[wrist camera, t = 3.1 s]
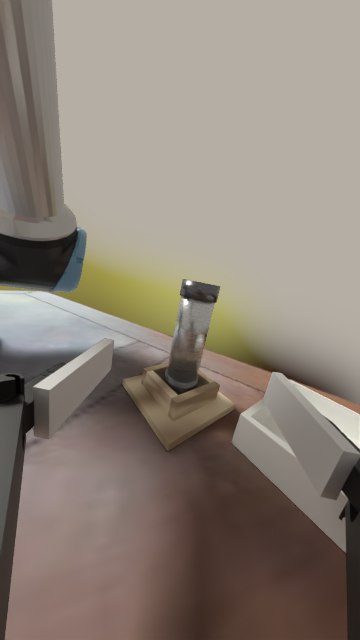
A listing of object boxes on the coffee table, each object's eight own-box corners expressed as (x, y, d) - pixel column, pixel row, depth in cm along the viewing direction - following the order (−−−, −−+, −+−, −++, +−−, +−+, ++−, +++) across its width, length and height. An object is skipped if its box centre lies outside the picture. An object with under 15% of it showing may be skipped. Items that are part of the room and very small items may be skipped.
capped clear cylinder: (155, 386, 26) (175, 277, 22) (180, 378, 29) (200, 282, 25) (175, 407, 22) (202, 282, 19) (200, 396, 25) (228, 287, 22)
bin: (231, 442, 20) (240, 413, 19) (282, 399, 30) (290, 379, 29) (508, 711, 8) (567, 671, 7) (438, 492, 19) (458, 464, 18)
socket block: (122, 384, 26) (124, 363, 25) (181, 369, 34) (185, 352, 33) (167, 451, 18) (173, 423, 17) (233, 410, 25) (239, 389, 25)
